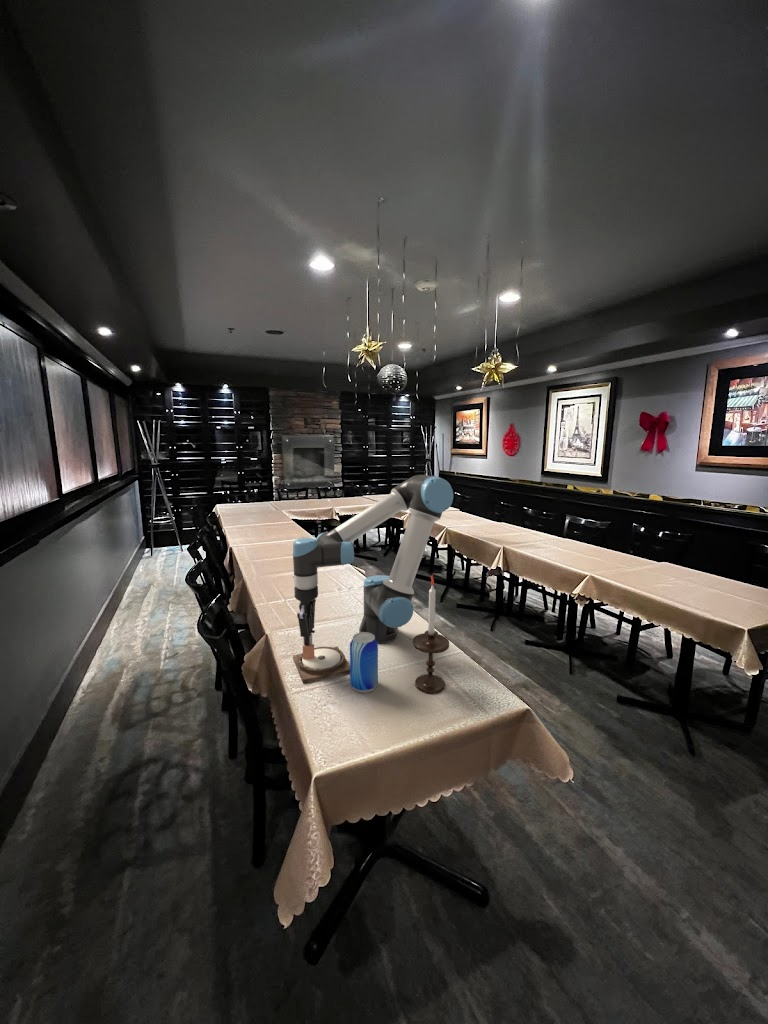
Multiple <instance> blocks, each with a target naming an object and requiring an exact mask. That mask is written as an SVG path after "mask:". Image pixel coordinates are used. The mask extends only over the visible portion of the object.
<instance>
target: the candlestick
mask: <svg viewBox="0 0 768 1024" xmlns="http://www.w3.org/2000/svg"><path fill="white" fill-rule="evenodd" d="M430 579H431V582H430V583H431V587H430V589H429V590H428V619H427V620H428V625H427V626H428V629H427V630H425V631H424V633H420V634H417V635H415V636H414V637H413V639H412V646H413V647H414V648H415V649H416V650H417V651H419V652H423V653H426V654H428V658H427V659H426V660H425V663H426V666H427V667H426V669H425V671H426V672H427V674H421V675H419V676H418V677H416V678H415V683H414V685H415V688H416V689H417V690H418V691H419V692H421V693H424V694H428V695H435V694H440V693H441V692H443V691H444V689H445V688H446V682H445V680H444V679H443V678H442V677H441V676H438V675H436V674H433V673H434V672H435V668H434V667H435V665H436V661H435V660H434V654H440V653H444V652H446V651H448V650H449V648H450V640H449V638H447V637H446V636H444V635H442V634H439V632H438V631H436V630H435V625H436V623H435V621H436V589H435V588H434V587H435V586H434V584H435V580H434V575H433V574H432V575H431V576H430Z"/></svg>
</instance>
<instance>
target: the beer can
mask: <svg viewBox="0 0 768 1024" xmlns="http://www.w3.org/2000/svg"><path fill="white" fill-rule="evenodd" d="M349 665H350V673H349V676H350V677H349V684H350V686H351V687H352V689H353V690H354V691H355V692H357V693H360V694H367V693H371V692H373V691H374V690H375V688H376V687H377V686H378V684H379V644H378V643H377V641H376V639H375V636H374V635H373V634H371V633H368V632H361V633H359V632H357V633H354V635H353V636H352V639H351V641H350V643H349Z"/></svg>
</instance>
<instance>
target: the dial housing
mask: <svg viewBox="0 0 768 1024" xmlns="http://www.w3.org/2000/svg"><path fill="white" fill-rule="evenodd" d="M323 648H326V649H332V650H335V651H337V652H338V653H339V654H340V657H341V661H340V663H338V664H336V665H335V666H333V667H330V668H325V669H317V668H315V669H310V668H308V667H307V666H304V665H303V664H302V658H303V652H301V653H298V654H294V655H292V660H293V663H294V665H295V667H296V670H297V672H298V674H299V678H300V679H301V682H302V684H307V683H311V682H315V681H320V680H321V681H322V680H324V679H329V678H334V677H338V676H342V675H346V674H350V662H348V661H347V659H346V656H345V654H344V652H343V651H342V650H341V649H340V648H339V646H334V647H333V646H317V647H314V650H315V649H323Z"/></svg>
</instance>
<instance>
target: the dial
mask: <svg viewBox="0 0 768 1024" xmlns="http://www.w3.org/2000/svg"><path fill="white" fill-rule="evenodd" d="M314 648H315V644H314V643H313V644H309V645H305V644H304V643H303V645H302V653H303V658H302V664H303V665H304V666H307V667H308V668H310V669H315V668H317V669H325V668H330V667H333V666H335V665H336V664H338V663H340V661H341V657H340V654H339V653H338V652H337V651H335V650H332V649H326V648H323V649H315V650H314Z"/></svg>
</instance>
